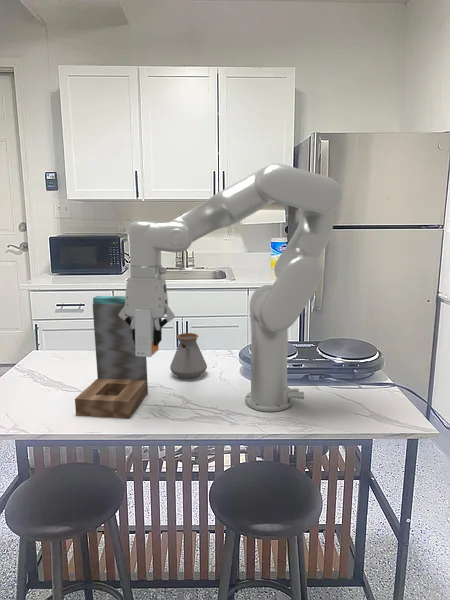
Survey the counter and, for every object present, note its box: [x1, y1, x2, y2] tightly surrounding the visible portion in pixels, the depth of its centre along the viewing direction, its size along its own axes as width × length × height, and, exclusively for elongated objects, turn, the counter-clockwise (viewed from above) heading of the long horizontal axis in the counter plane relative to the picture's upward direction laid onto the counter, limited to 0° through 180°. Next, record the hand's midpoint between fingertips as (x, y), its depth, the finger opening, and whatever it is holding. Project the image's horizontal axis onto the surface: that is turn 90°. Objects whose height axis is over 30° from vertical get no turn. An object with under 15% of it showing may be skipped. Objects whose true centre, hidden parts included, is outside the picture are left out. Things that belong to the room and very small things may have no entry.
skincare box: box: [135, 309, 160, 358], centre depth 114 cm, size 6×4×12 cm
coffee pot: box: [169, 332, 208, 381], centre depth 135 cm, size 21×12×15 cm, turn 179°
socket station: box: [74, 295, 149, 419], centre depth 119 cm, size 14×18×28 cm
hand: (147, 342), depth 114 cm, fingers closed on skincare box, 4 cm apart
